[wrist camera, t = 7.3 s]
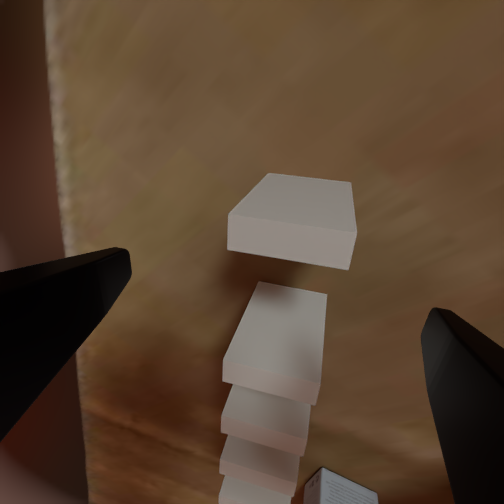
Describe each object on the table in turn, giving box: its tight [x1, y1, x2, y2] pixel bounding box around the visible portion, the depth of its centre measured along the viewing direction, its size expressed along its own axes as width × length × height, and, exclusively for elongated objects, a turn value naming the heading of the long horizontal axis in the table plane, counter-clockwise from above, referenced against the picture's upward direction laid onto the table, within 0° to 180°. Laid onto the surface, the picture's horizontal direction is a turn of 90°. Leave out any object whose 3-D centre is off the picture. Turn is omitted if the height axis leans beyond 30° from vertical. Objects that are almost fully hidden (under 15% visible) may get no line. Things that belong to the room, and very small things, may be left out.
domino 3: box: [219, 435, 300, 497], centre depth 23 cm, size 2×5×8 cm, turn 85°
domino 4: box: [219, 475, 291, 504], centre depth 25 cm, size 2×5×8 cm, turn 85°
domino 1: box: [222, 281, 327, 406], centre depth 19 cm, size 2×5×8 cm, turn 85°
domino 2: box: [221, 384, 311, 457], centre depth 22 cm, size 2×5×8 cm, turn 85°
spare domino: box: [227, 173, 357, 270], centre depth 16 cm, size 2×5×8 cm, turn 86°
